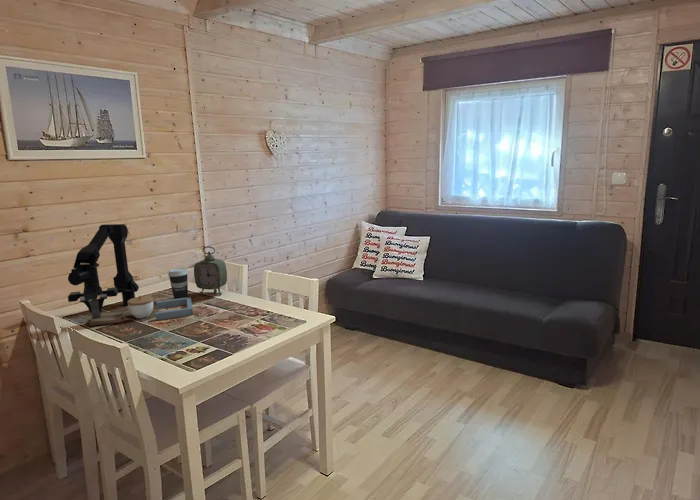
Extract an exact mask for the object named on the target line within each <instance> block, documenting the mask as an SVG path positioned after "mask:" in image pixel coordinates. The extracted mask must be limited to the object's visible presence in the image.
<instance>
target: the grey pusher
mask: <svg viewBox="0 0 700 500" xmlns="http://www.w3.org/2000/svg"><path fill="white" fill-rule="evenodd" d="M90 302H91V310H92V314H91V316H92V317H91V319H90V320H89V326H98V325H99V326H100V325H101V326H102V325H107V324H109V325H110V324H116V323H117V324H118V323H122V319H123V318H124V317H123V316H124V314H125V313H124V310H115V311H106V312H101V313H100V307H99V298H97V299H90Z"/></svg>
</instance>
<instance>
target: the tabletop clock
mask: <svg viewBox="0 0 700 500" xmlns="http://www.w3.org/2000/svg"><path fill="white" fill-rule="evenodd" d="M208 248H209V249H212V250H213V252H210V251H207V252H205V251H204V250H205V249H208ZM202 252H203V254H205V256H204V259H203V260H202V259H201V261H200V260H199V261H198V262H196V263H194V267H193V277H194V282H195V285H196V287H197V288H198V289H201V291H199V294H200V295H203V293H204V290H213V292H214V293H217V290H218V296H222V292H221V290H220V288H221V287H223V286H225V285H227V282H228V272H227V271H228V270H227V265H226V261H224V260H223V259H220V258H219V259H218V258H215V256H214V255H213V254H215V253H216V249H215V248H214V247H213V246H209V245H207V246H204V247H203V248H202Z"/></svg>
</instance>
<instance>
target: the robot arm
mask: <svg viewBox="0 0 700 500" xmlns="http://www.w3.org/2000/svg"><path fill="white" fill-rule="evenodd" d="M128 230H129V229H128V227H127V225H125V224H122V223H115V224H113V223H111V224H101V225H99V226H98V230H97V232H95V235H94V236H92V237H93V238H91V240H90V241H89V243H88V244H87V245H85V246H83V247H82V248H81V249H79V251H78V252H77V254H76V258H75V260H74V263H73V268H72V269H71V270H70V273H69V274H68V277H67V281H68V283H70V284H71V285H72V286H78V285H81V284H83V287H84V288H83V292H81V291H73V292H70V293H69V294H68V296H67V300H68V302H69V303H72V302H77V301H78V300H79V302H80V303H83V304H84V305H85V306H86V307H87V308H88V311H89V312H90V314H91V315H92V310H91V302H90V301H91V299H99V307H100V313H102V310H103V307H104V301H105V300H106V299H108V298H110V297H111V298H112V297H117V296H118V294H119V293H121V297H122V303H121V306H122V305H125V306H128V303H127V301H128V300H130V299H132V298H135V297H136V294H135V293H137V292H138V291H139V285H138V284H137V283H136V281H134V277H133V275H132V274H131V272H130V271H129V266H128V257H127V249H126V243H125V242H126V241H127V238H128ZM107 239H108V240H110V241H111V243H112V245H113V250H114V251H113V252H114V258H115V259H114V260H115V267H116V274H115V276H114V277H112V278H113V287H107V288H106V290H103V288H102V286H101V285H100V279H99V274H98V267H100V264H99V263H98V260H99V259H100V256H101V254H100V253H101V252H100V250H101V249H102V247H103V246H104V244H105V243H106V241H107ZM98 297H99V298H98Z"/></svg>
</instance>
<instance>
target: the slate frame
mask: <svg viewBox="0 0 700 500" xmlns="http://www.w3.org/2000/svg"><path fill="white" fill-rule="evenodd" d="M155 303H156V304H155V305H156V309H157V310H160V309H166V308H172V307H173V308H174V307H181V306H186V307H185V308H178V309H177V308H176V309H173V310H172V309H169V310H164V311H163V310H162V311H156V312H155V313H154V314H155V321H161V320H168V319H174V318H175V319H176V318H181V317H188V316H189V317H190V316H194V312H193V311H194V310H193V304H192V297H191V296H188V297H187V298H180V299H174V298H173V299H166V300H158V301H157V300H156V302H155Z"/></svg>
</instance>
